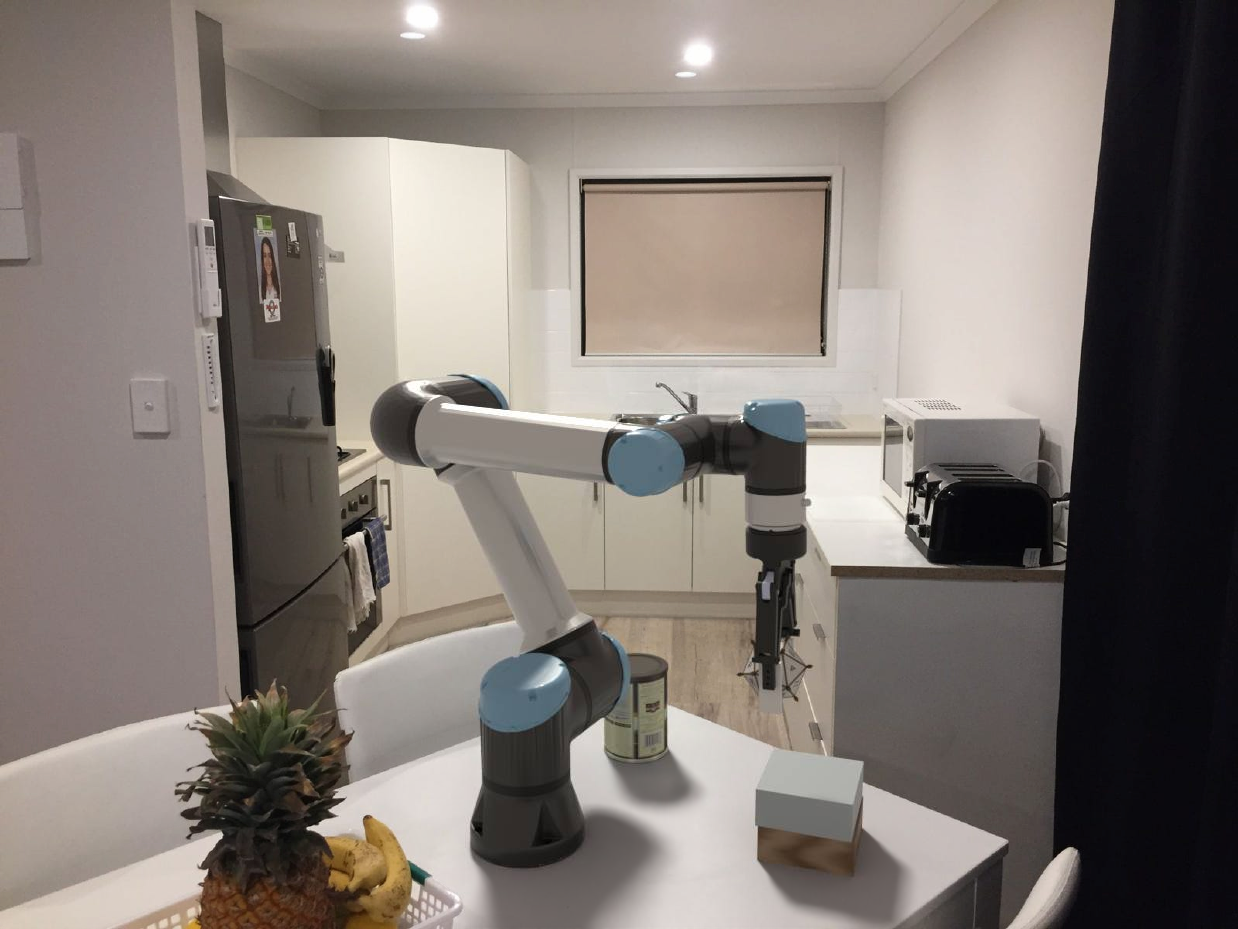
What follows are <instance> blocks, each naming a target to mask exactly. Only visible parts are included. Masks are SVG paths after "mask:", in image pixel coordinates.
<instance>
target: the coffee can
mask: <svg viewBox="0 0 1238 929" xmlns="http://www.w3.org/2000/svg"><path fill="white" fill-rule="evenodd" d="M626 654H627V657H628V660H629V664H630V671H631V676H630V684H629V687H628V690H627V693H626V695H625V696H624V698H623V699H622V701H621V702H620V703H619V704H618V705H617V706H616V707H615V709H614V710H613V711H612V712H611V713H610V714H609V715H608V716H606V717H605V718H603V736H604V738H603V739H604V744H603V751H604V753H605V754H606V755H607V757H609V758H611V759H613V760H615V761H618V762H621V763H622V762H623V763H628V764H645V763H649V762H654V761H657V760H659V759H661V758H663V757H664V756H665V755H666V754H667V753H668V750H669V746H668V732H669V731H668V670H669V663H668V661H667V660H666V659H665V658H662V657H660V656H658V655H654V654H651V653H643V652H641V653H640V652H635V653H634V652H631V653H629V652H626Z"/></svg>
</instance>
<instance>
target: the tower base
mask: <svg viewBox="0 0 1238 929" xmlns="http://www.w3.org/2000/svg"><path fill="white" fill-rule="evenodd" d="M863 812H864V796H863V795H862V800H861V804H860V808H859V813H858V817H857V821H856V825H855V830H854V834H853V838H852V842H845V841H839V840H834V839H828V838H822V837H817V836H811V835H805V834H800V833H794V832H788V831H783V830H777V829H771V828H766V827H760V826H757V845H756V846H757V849H756V850H757V852H756V860H757V861H763V862H767V863H774V864H778V865H779V864H780V865H785V866H790V867H797V868H803V869H808V870H813V871H818V872H819V871H820V872H826V873H831V874H837V875H842V876H848V877H854V876H855V869H856V865H857V864H856V863H857V859H858V853H859V848H860V840H861V835H862V831H863V819H864V818H863V817H864V816H863V814H864V813H863Z"/></svg>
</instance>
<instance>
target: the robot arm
mask: <svg viewBox="0 0 1238 929" xmlns="http://www.w3.org/2000/svg"><path fill="white" fill-rule="evenodd" d="M806 422H807V421H806V410H805V406H804V404H802V402H800V401H799V400H796V399H793V398H792V399H791V398H760V399H759V398H757V399H752V400H748V401H747V402H745V404H744V406H743V412H742V414H739V415H717V414H715V415H714V414H695V413H692V414H691V413H689V412H683V413H677V414H673V413H672V414H664V415H661V416H660V417H658V418H657V420H656V422H655V424H653V425H652V424H651V425H647V424H638V423H630V422H627V423H626V422H619V421H610V420H600V419H592V418H591V419H590V418H584V417H583V418H582V417H574V416H573V417H572V416H563V415H555V414H547V413H538V412H537V413H535V412H525V411H518V410H516V411H515V410H510V406H509V403H508V401H507V399H506V397H505V395H504V394H503V392H502V391H501V390H500V389H499V387H498V386H496V385H495V383H493V382H492V381H490V380H489V379H487V378H484V377H482V376H479V375H476V374H465V373H452V374H447V375H444V376H437V377H432V378H431V377H430V378H421V379H413V380H405V381H401V382H398V383H396V384H394V385H392V386H390V387H389V388H387V389H386V390H384V391H383V392H382V393H381V394H380V396H378V398H377V399H376V401H375V402H374V404H373V407H372V409H371V412H370V420H369V429H370V435H371V437H372V440H373V442H374V444H375V446H376V447H377V448H378V450H379V451H380V452H381V454H383V456H385V457H386V458H387V459H389V460H391V461H393V462H394V463H397V464H400V465H404V466H412V467H421V468H427V469H432V470H433V471H434V473H435V475H436V477H437V480H438V481H440V482H442V483H445V484H448V485H450V486H451V487H453V489H454V492H455V493H456V495H457V497H458V500H459V502H460V504H461V506H462V509H463V510H464V513H465V514H466V517H467V518H468V522H469V523H470V525H471V527H472V530H473V532H474V533H475V537H476V538H477V540H478V543H479V545H480V546H481V549H482V552H483V553H484V556H485V558H486V560H487V562H488V564H489V566H490V569H491V571H492V573H493V575H494V577H495V579H496V582H497V583H498V586H499V588H500V590H501V592H502V594H503V596H504V599H505V601H506V603H507V605H508V608H509V609H510V612H511V613H512V615H513V617H514V619H515V622H516V624H517V626H518V629H519V630H520V633H521V634H522V641H521V645H520V648H519V650H518V654H519V655H518V657H517V656H515V657H514V656H509V657H506V658H504V659H502V660H500V661H498V662H496V663H495V664H493V665H492V666H491V667H490V668H488V670H487V671H486V672H485V673H484V674H483V676H482V678H481V681H480V685H479V686H480V687H479V699H478V704H477V707H478V708H477V709H478V715H479V729H480V760H481V761H480V762H481V787H480V789H479V792H478V796H477V798H476V802H475V806H474V808H473V812H472V815H471V819H470V823H469V839H470V845H471V848H472V849H473V850H474V852H475V853H476V854H477V855H478V856H480V857H481V858H483V859H484V860H487V861H489V862H490V863H494V864H496V865H501V866H505V867H512V868H513V867H514V868H515V867H516V868H518V867H519V868H527V867H529V868H530V867H538V866H543V865H544V866H545V865H549V864H552V863H555V862H557V861H561V860H562V859H564V858H567V857H569V856H570V855H572V854H573V853H574V852H575V851H576V850H578V848H580V847H581V845H582V843H583V842H584V838H585V831H586V830H585V816H584V813H583V809H582V806H581V804H580V801H579V798H578V795H577V793H576V791H575V788H574V784H573V782H572V779H571V775H572V773H571V745H572V744H571V743H572V742H573V741H574V740H575V739H577V738H578V737H580V735H582V734H583V733H585V732H586V731H587V730H588V729H589V728H591V727H592V726H594V725H595V724H596V723H598V722H599V721H600V720H601V719H604V718H605V717H606V716H608V715H609V714H610V713H611V712H612V711H613V710H614V709H615V707H616V706H617V705H618V704H619V703H620V702H621V701H622V699H623V698H624V696H625V695H626V693H627V690H628V687H629V684H630V676H631V671H630V664H629V660H628V657H627V652H626V650H625V648H624V647H623V645H622V643H620V641H618V639H617V638H616V637H614V636H610V635H609V634H608V632H605V631H603V630H599V627H598V626H597V624H596V622H595V619H594V617H592V616H591V615H589V614H586V613H583V612H581V611H579V610H578V608H577V606H576V605H575V603H574V600H573V598H572V596H571V594H570V592H569V590H568V588H567V587H568V586H567V585H566V583H565V582H564V579H563V577H562V574H561V572H560V571H559V569H558V566H557V564H556V562H555V560H554V558H553V556H552V553H551V551H550V549H549V547H548V545H547V543H546V541H545V538H544V536H543V534H542V532H541V530H540V528H539V526H538V524H537V521H536V520H535V517H534V514H533V512H532V511H531V508H530V507H529V504H528V502H527V501H526V498H525V496H524V493H523V492H522V490H521V488H520V487H521V486H519V483H518V481H517V479H516V476H515V475H514V472H516V473H523V474H524V473H525V474H531V475H537V476H545V477H554V478H559V479H560V478H561V479H568V480H574V481H582V482H591V483H597V484H603V485H604V484H605V485H611V486H616V487H617V488H618V489H620V490H621V491H622V492H624V493H625V494H627V495H630V496H633V497H637V498H638V497H639V498H642V497H643V498H644V497H649V496H658V495H661V494H663V493H665V492H667V491H669V490H670V489H672V488H675V487H677V486H679V485H681V484H683V483H686V482H689V481H691V480H694V479H697V478H698V477H700V476H704V475H721V476H723V475H725V476H738V477H739V476H744V520H745V522H746V523H747V524H748V525H747V526H746V527H745V528H744V529H745V553H746V555H747V556H748V557H750V558H751V559H754V560H755V559H756V560H759V561H761V562H762V568H761V571H758V572H757V581H756V583H755V585H754V588H755V598H756V599H755V600H756V602H755V604H756V605H755V639H754V642H755V656H754V657H752V663H759V696H758V712H759V713H765V714H774V715H782V713H783V699H782V662H781V661H780V644H781V641H785V636H787V635H788V634H789V640H788V641H787V642H788V643H789V645H790V646H791V647H792V648H793V650H794V651H795V638H797V637H798V638H800V635H801V629H800V628H796V627H797V625H798V621H797V598H796V597H797V596H796V571H795V570H796V562H797V561H796V560H799V559H802V558H803V557H805V555H806V554H807V551H808V550H807V549H808V542H807V541H808V538H807V536H808V534H807V527H806V526H805V525H804V523H805V522H806V521H807V507H810V506H812V500H811V499H810V498H806V495H807V442H808V433H807V424H806ZM794 637H795V638H794ZM764 653H768V654H764Z"/></svg>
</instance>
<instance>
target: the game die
mask: <svg viewBox="0 0 1238 929" xmlns="http://www.w3.org/2000/svg"><path fill="white" fill-rule="evenodd" d="M788 640H789V634H788V635H787V636H785V641H781V644H780V661H781V662H782V700H783V699H788V698H793V700H794V702H797V703H799V702H800V701H799V697H798V696H796V694H797V692H798V689H799V687H800V685H801V682H802V679H803V678H804V675H805V672H806V670H807V669H812V668H814V665H812V664H811V663H810V664H809V663H808V664H807V665H806V663H805V662H804V661H803V660H802V658H801V657H800V656H799V655H798V653H797V652H796V651H795V649H794V650H793V648H792V647H791V646H790V645H789V643H788V642H787V641H788ZM750 645H752V646H753V647H752V649H751V652H750V653H749V656H748V659H747V661H746V664H745V666H744V669H743V672H738V673H737V674H736V673H735V674H736V676H738V677H742V676H743V677H744V678H745V680H746V681H747V683H748V684H749V685H750V687H751V688H752V690H753V691H754V692H755V694H756V695H757V696H758V697H759V663H752V657H754V656H755V639H751V638H750ZM764 654H768V653H764Z"/></svg>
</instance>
